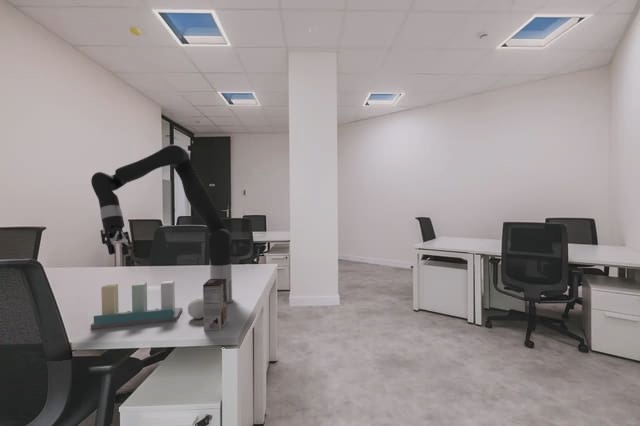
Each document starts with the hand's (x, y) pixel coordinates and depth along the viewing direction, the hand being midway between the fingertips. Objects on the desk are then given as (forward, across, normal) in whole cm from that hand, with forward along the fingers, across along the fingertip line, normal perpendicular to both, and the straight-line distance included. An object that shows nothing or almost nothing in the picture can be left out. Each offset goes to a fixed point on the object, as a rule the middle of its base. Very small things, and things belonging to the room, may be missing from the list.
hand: (119, 254), depth 127 cm
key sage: (+26, -6, -7) cm, 28 cm away
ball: (+35, -4, -28) cm, 45 cm away
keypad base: (+28, -5, -6) cm, 29 cm away
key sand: (+24, -8, +3) cm, 26 cm away
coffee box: (+39, -12, -36) cm, 54 cm away
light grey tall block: (+29, -3, -16) cm, 33 cm away
